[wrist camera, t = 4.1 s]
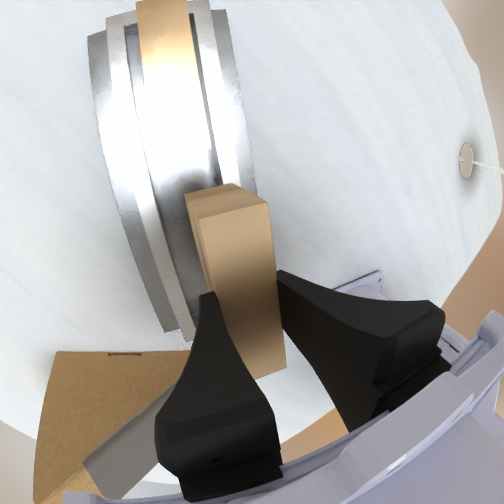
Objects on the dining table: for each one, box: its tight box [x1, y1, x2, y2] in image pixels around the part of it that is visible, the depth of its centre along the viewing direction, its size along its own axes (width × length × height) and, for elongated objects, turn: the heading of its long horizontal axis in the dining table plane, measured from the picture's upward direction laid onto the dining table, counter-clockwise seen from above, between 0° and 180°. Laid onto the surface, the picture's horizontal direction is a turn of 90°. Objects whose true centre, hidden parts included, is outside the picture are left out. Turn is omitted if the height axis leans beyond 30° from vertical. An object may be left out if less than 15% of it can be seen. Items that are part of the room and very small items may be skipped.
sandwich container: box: [33, 350, 191, 504], centre depth 16 cm, size 9×15×15 cm, turn 82°
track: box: [87, 0, 258, 342], centre depth 15 cm, size 22×9×5 cm, turn 9°
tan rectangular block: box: [184, 183, 287, 380], centre depth 13 cm, size 8×2×4 cm, turn 9°
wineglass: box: [459, 143, 504, 178], centre depth 21 cm, size 7×7×12 cm
